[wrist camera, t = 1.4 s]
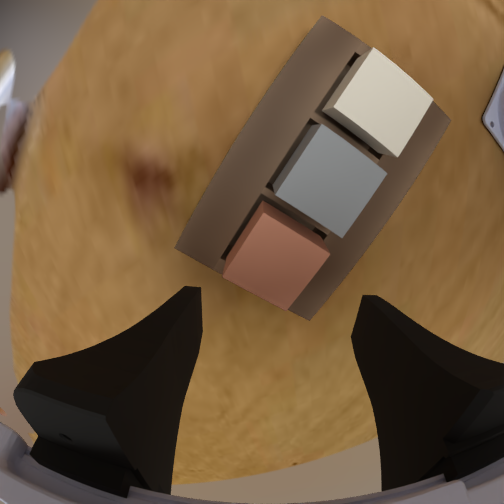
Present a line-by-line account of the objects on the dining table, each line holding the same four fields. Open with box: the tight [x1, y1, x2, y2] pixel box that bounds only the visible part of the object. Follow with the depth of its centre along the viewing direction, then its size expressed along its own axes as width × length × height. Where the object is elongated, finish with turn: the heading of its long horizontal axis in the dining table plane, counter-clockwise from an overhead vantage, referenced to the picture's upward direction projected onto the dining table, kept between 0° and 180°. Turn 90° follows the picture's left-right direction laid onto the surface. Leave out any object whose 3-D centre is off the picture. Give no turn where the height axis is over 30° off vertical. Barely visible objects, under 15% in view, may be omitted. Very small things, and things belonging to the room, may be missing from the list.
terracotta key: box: [222, 201, 330, 311], centre depth 16 cm, size 4×4×3 cm
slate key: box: [273, 124, 387, 238], centre depth 14 cm, size 4×4×3 cm
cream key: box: [322, 47, 433, 157], centre depth 13 cm, size 4×4×3 cm
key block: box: [175, 16, 451, 321], centre depth 17 cm, size 10×16×3 cm, turn 148°
